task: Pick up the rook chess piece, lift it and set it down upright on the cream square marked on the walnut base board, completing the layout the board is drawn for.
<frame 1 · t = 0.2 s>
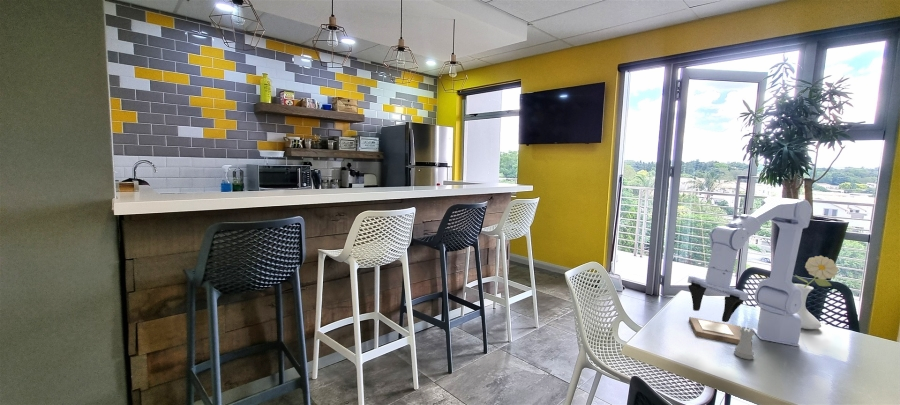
hand: (710, 315, 105), 10 cm above the table, tool pointing down, fingers open, 7 cm apart
base board: (718, 333, 118), on the table
flower in vase: (800, 326, 127), on the table
rook chess piece: (743, 356, 104), on the table
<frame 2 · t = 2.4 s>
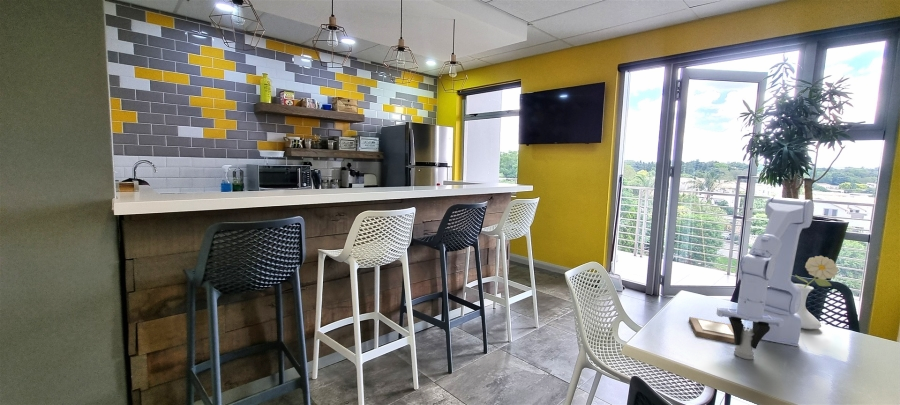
hand: (744, 345, 104), 3 cm above the table, tool pointing down, fingers closed on rook chess piece, 3 cm apart
rook chess piece: (743, 356, 104), on the table, touching gripper
everything else where it was.
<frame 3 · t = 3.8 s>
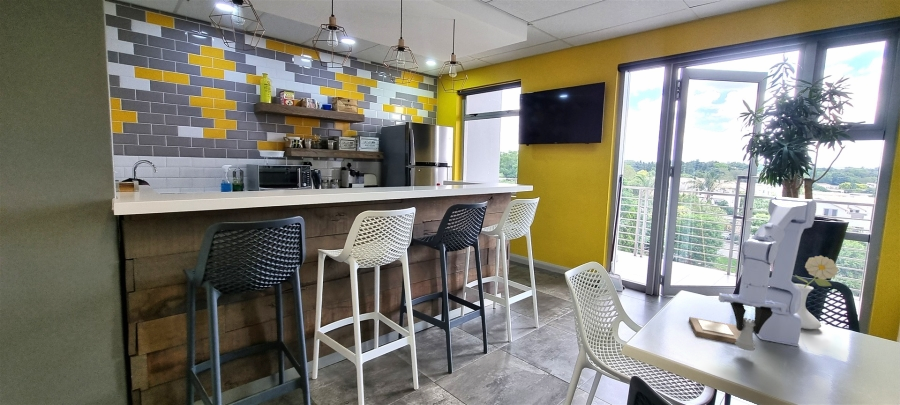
hand: (747, 330, 103), 7 cm above the table, tool pointing down, fingers closed on rook chess piece, 3 cm apart
rook chess piece: (744, 348, 104), point 2 cm above the table, touching gripper
everything else where it was.
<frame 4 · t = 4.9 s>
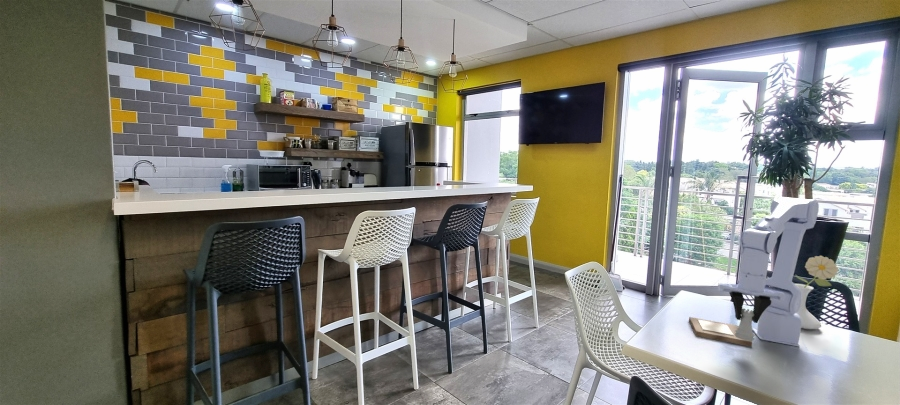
hand: (746, 320, 104), 10 cm above the table, tool pointing down, fingers closed on rook chess piece, 3 cm apart
rook chess piece: (743, 338, 104), point 5 cm above the table, touching gripper
everything else where it was.
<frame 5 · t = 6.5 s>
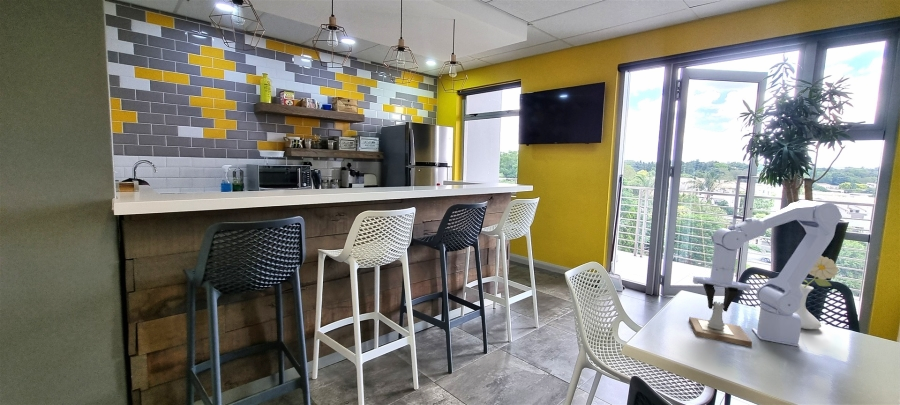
hand: (717, 309, 118), 8 cm above the table, tool pointing down, fingers closed on rook chess piece, 3 cm apart
rook chess piece: (715, 328, 117), point 2 cm above the table, touching base board, gripper
everything else where it was.
when the fingers open (8 cm above the table, at t = 7.7 s): rook chess piece stays where it is, resting on base board.
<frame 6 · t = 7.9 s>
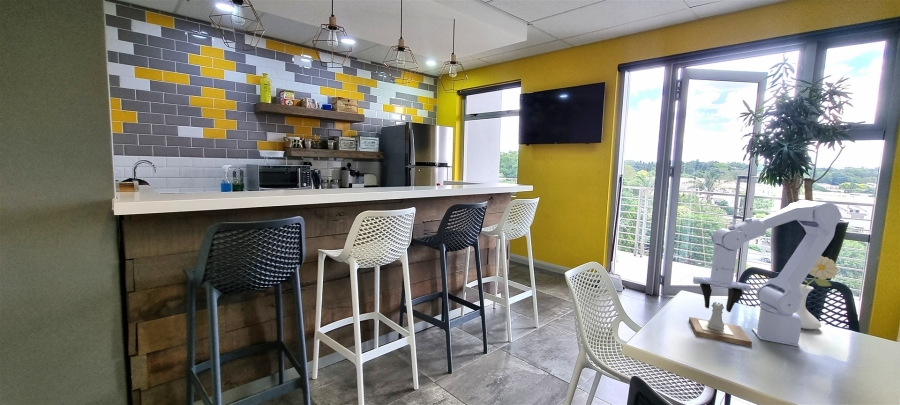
hand: (717, 309, 118), 8 cm above the table, tool pointing down, fingers open, 5 cm apart
rook chess piece: (715, 328, 117), point 2 cm above the table, touching base board
everything else where it was.
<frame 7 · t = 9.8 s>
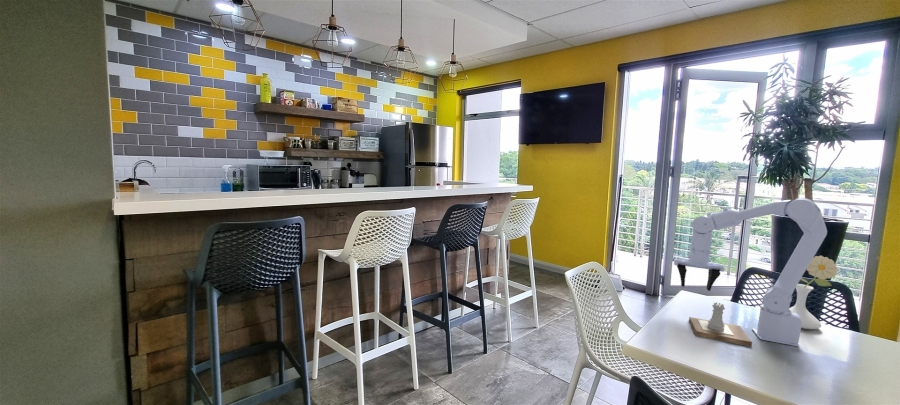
hand: (695, 287, 131), 10 cm above the table, tool pointing down, fingers open, 7 cm apart
nothing on the table moved.
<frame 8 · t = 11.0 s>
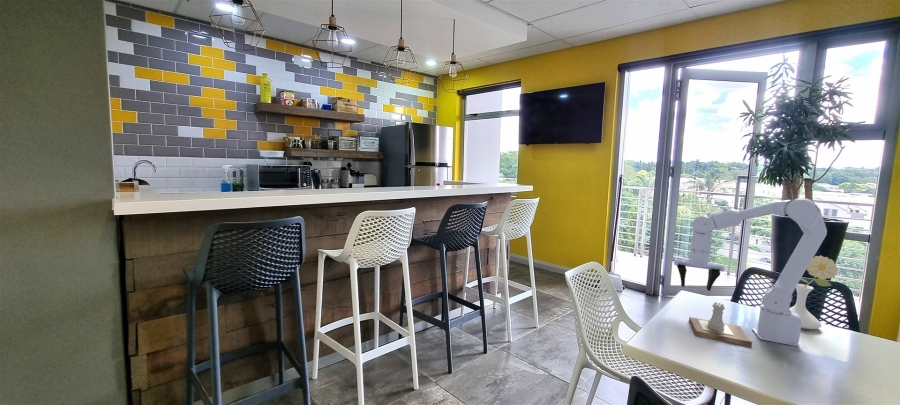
hand: (695, 287, 131), 10 cm above the table, tool pointing down, fingers open, 7 cm apart
nothing on the table moved.
at the end: rook chess piece 1.3 cm from the target spot on the base board, point 1.6 cm above the base board's base; rook chess piece tilted 0°; the gripper is holding nothing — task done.
